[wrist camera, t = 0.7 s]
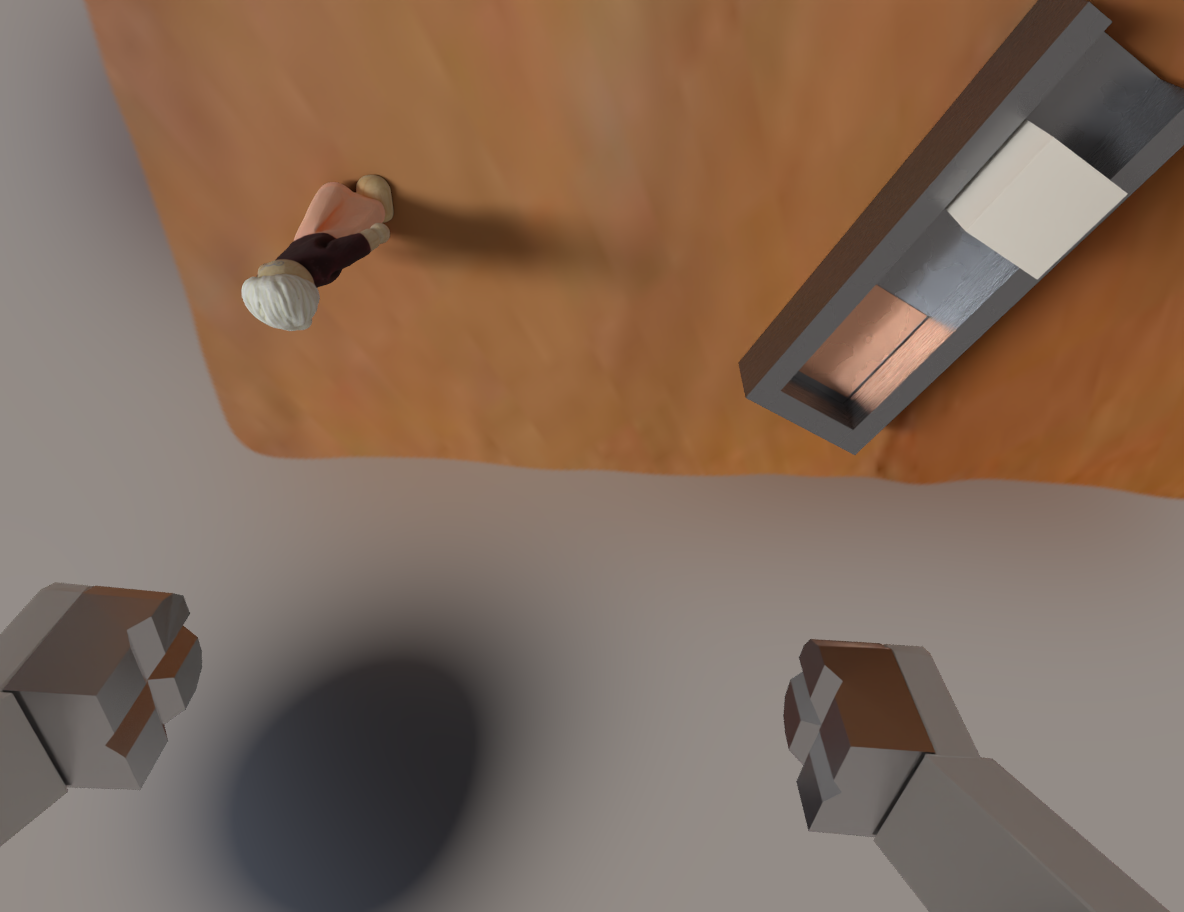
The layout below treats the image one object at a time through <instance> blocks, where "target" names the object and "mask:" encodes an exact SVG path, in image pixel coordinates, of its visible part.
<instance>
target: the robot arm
mask: <svg viewBox="0 0 1184 912" xmlns="http://www.w3.org/2000/svg"><path fill="white" fill-rule="evenodd" d="M189 615H190V612H189V609H188V607H187V604H186V602H185V599H184V596H183V595H178V594H174V593H165V592H155V591H144V590H135V589H124V588H114V587H104V586H88V585H77V584H67V583H53V584H51V585H49V586H47V587H45V588H43V589H41V590H40V591H39V592H38V593H37V594H36V595H35V596H34V597H33V598H32V600H31V601H30V602H29V603H28V604H27V605H26V606H25V608H23V609H22V611H21V612H20V613H19V614H18V615H17V616H16V617H15V618H14V619H13V621H12V622H11V623H10V624H9V625H8V626H7V627H6V628H5V629H4V630H3V632H2V633H1V634H0V846H1V845H3V844H4V843H5V842H6V841H8V840H9V839H10V838H11V837H13V836H14V835H15V834H16V833H18V832H19V831H20V830H21V829H23V828H24V827H25V826H26V825H27V824H29V823H30V822H31V821H32V820H34V819H35V818H36V817H37V816H39V815H40V814H41V813H42V812H43V811H45V810H46V809H47V808H48V807H50V806H51V805H52V804H53V803H55V802H56V801H57V800H58V799H59V798H61V797H62V796H63V795H64V794H66V793H67V792H68V789H67V787H74V788H102V789H132V790H140V789H141V788H142V786H143V784H144V782H145V781H146V779H147V777H148V775H149V774H150V772H151V770H152V768H153V767H154V765H155V763H156V761H157V760H158V758H159V756H160V754H161V752H162V751H163V749H164V747H165V745H166V743H167V742H168V738H167V734H166V729H165V725H164V724H166V723H167V722H168V721H170V720H171V719H173V718H174V717H176V716H177V715H178V714H180V713H181V712H183V711H184V710H186V708H187V706H188V704H189V702H190V700H191V698H192V696H193V694H194V693H195V691H196V688H197V684H198V680H199V676H200V673H201V669H202V650H201V647H200V643H199V640H198V637H197V636H195V635H194V634H193V633H192V632H190V631H189V630H188V629H187V628H186V627H184V626H183V624H184V623H185V621H186V619H187V618H188V616H189ZM799 660H800V663H801V667H802V671H803V672H801V673H800V674H798V675H797V676H795V677H794V678H792V679H791V680H790V682H789V685H788V689H787V691H786V695H785V702H784V714H783V717H784V726H785V735H786V739H787V744H788V748H789V751H791V753H792V754H793V755H794V756H795V757H796V758H797V759H798V760H799V761H800V762H801V763H802V764H803V767H802V770H801V772H800V775H799V777H798V779H797V781H796V782H797V786H798V790H799V794H800V798H801V802H802V806H803V810H804V814H805V819H806V822H807V826H808V831H812V832H823V833H834V834H846V835H856V836H867V837H875V839H874V842H875V843H876V845H877V846H878V847H879V848H880V850H881V851H882V852H883V853H884V855H885V856H886V857H887V859H888V860H889V861H890V862H891V864H892V865H893V866H894V867H895V869H896V870H897V871H898V873H899V874H900V875H901V876H902V878H903V879H904V880H905V882H906V883H907V884H908V885H909V887H910V888H911V889H912V890H913V892H914V893H915V894H916V895H917V897H918V898H919V899H920V901H921V902H922V903H923V904H924V906H925V907H926V908H927V910H928V911H929V912H1170V911H1169V910H1167V909H1166V908H1165V907H1164V906H1163V905H1162V904H1160V903H1159V902H1158V901H1157V900H1156V899H1155V898H1153V897H1152V896H1151V895H1150V894H1149V893H1148V892H1147V891H1145V890H1144V889H1143V888H1142V887H1141V886H1139V885H1138V884H1137V883H1136V882H1135V881H1134V880H1133V879H1131V878H1130V877H1129V876H1128V875H1127V874H1126V873H1124V872H1123V871H1122V870H1121V869H1120V868H1119V867H1118V866H1116V865H1115V864H1114V863H1113V862H1112V861H1111V860H1109V859H1108V858H1107V857H1106V856H1105V855H1104V854H1102V853H1101V852H1100V851H1099V850H1098V849H1097V848H1095V847H1094V846H1093V845H1092V844H1091V843H1090V842H1088V841H1087V840H1086V839H1085V838H1084V837H1083V836H1081V835H1080V834H1079V833H1078V832H1077V831H1076V830H1075V829H1073V828H1072V827H1071V826H1070V825H1069V824H1068V823H1066V822H1065V821H1064V820H1063V819H1062V818H1061V817H1060V816H1058V815H1057V814H1056V813H1055V812H1054V811H1053V810H1051V809H1050V808H1049V807H1048V806H1047V805H1046V804H1044V803H1043V802H1042V801H1041V800H1040V799H1039V798H1037V797H1036V796H1035V795H1034V794H1033V793H1032V792H1030V791H1029V790H1028V789H1027V788H1026V787H1025V786H1024V785H1022V784H1021V783H1020V782H1019V781H1018V780H1017V779H1015V778H1014V777H1013V776H1012V775H1011V774H1010V773H1008V772H1007V771H1006V770H1005V769H1004V768H1003V767H1001V766H1000V765H999V764H998V763H997V762H996V761H995V760H993V759H990V758H981V757H980V755H979V753H978V751H977V749H976V747H975V745H974V743H973V741H972V739H971V736H970V734H969V732H968V730H967V728H966V726H965V724H964V722H963V720H962V718H961V716H960V714H959V712H958V710H957V708H956V706H955V704H954V701H953V699H952V697H951V695H950V693H949V691H948V690H947V687H946V685H945V683H944V681H943V679H942V677H941V675H940V673H939V671H938V669H937V667H936V664H935V662H934V660H933V658H932V656H931V655H930V653H929V652H928V651H927V650H926V649H925V648H924V647H919V646H905V645H890V644H884V645H882V644H880V643H864V642H849V641H832V640H815V639H810V640H809V641H808V642H807V643H806V644H805V645H804V646H803V649H802V651H801V654H800V656H799Z"/></svg>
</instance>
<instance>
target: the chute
mask: <svg viewBox="0 0 1184 912" xmlns="http://www.w3.org/2000/svg"><path fill="white" fill-rule="evenodd" d="M1111 23H1112V21H1111V20H1110V19H1109V18H1107V17H1106V16H1105V15H1104V14H1103V13H1102V12H1100V11H1099V10H1098V9H1097V8H1096V7H1095V6H1093V5H1092V4H1091V3H1090V2H1088V1H1085V0H1038V1H1037V3H1036V4H1035V5H1034V6H1033V7H1032V9H1031V10H1030V11H1029V12H1028V13H1027V15H1026V16H1025V17H1024V18H1023V19H1022V21H1021V22H1020V23H1019V24H1018V26H1017V27H1016V28H1015V29H1014V30H1013V32H1012V33H1011V34H1010V35H1009V36H1008V38H1007V39H1006V40H1005V41H1004V42H1003V44H1002V45H1001V46H1000V47H999V49H998V50H997V51H996V52H995V53H994V55H993V56H992V57H991V58H990V59H989V61H988V62H987V63H986V64H985V65H984V67H983V68H982V69H981V70H980V71H979V73H978V74H977V75H976V76H975V78H974V79H973V80H972V81H971V82H970V84H969V85H968V86H967V87H966V88H965V90H964V91H963V92H962V93H961V94H960V96H959V97H958V98H957V99H956V101H955V102H954V103H953V104H952V105H951V107H950V108H949V109H948V110H947V111H946V113H945V114H944V115H943V116H942V117H941V119H940V120H939V121H938V122H937V124H936V125H935V126H934V127H933V128H932V130H931V131H930V132H929V133H928V134H927V136H926V137H925V138H924V139H923V140H922V142H921V143H920V144H919V145H918V146H917V148H916V149H915V150H914V151H913V153H912V154H911V155H910V156H909V157H908V159H907V160H906V161H905V162H904V163H903V165H902V166H901V167H900V168H899V169H898V171H897V172H896V173H895V174H894V176H893V177H892V178H891V179H890V180H889V182H888V183H887V184H886V185H885V186H884V188H883V189H882V190H881V191H880V192H879V194H878V195H877V196H876V197H875V199H874V200H873V201H872V202H871V203H870V205H869V206H868V207H867V208H866V209H865V211H864V212H863V213H862V214H861V215H860V217H859V218H858V219H857V220H856V221H855V223H854V224H853V225H852V226H851V228H850V229H849V230H848V231H847V232H846V234H845V235H844V236H843V237H842V238H841V240H840V241H839V242H838V243H837V244H836V246H835V247H834V248H833V249H832V251H831V252H830V253H829V254H828V255H827V257H826V258H825V259H824V260H823V261H822V263H821V264H820V265H819V266H818V267H817V269H816V270H815V271H814V272H813V273H812V275H811V276H810V277H809V278H808V280H807V281H806V282H805V283H804V284H803V286H802V287H801V288H800V289H799V290H798V292H797V293H796V294H795V295H794V296H793V298H792V299H791V300H790V301H789V303H788V304H787V305H786V306H785V307H784V309H783V310H782V311H781V312H780V313H779V315H778V316H777V317H776V318H775V319H774V321H773V322H772V323H771V324H770V326H769V327H768V328H767V329H766V330H765V332H764V333H763V334H762V335H761V336H760V338H759V339H758V340H757V341H756V342H755V344H754V345H753V346H752V347H751V348H750V350H749V351H748V352H747V353H746V355H745V356H744V357H743V358H742V359H741V361H740V362H739V368H740V373H741V378H742V383H743V387H744V392H745V397H746V398H747V399H749V400H751V401H753V402H755V403H757V404H759V405H761V406H762V407H764V408H766V409H768V410H770V411H772V412H774V413H776V414H778V415H780V416H781V417H783V418H785V419H787V420H789V421H791V422H793V423H795V424H797V425H799V426H801V427H802V428H804V429H806V430H808V431H810V432H812V433H814V434H816V435H818V436H820V437H821V438H823V439H825V440H827V441H829V442H831V443H833V444H835V445H837V446H839V447H841V448H842V449H844V450H846V451H848V452H850V453H852V454H854V455H856V454H857V453H858V452H859V451H860V450H861V449H862V448H863V447H864V446H865V445H866V444H867V443H868V442H869V441H870V440H872V439H873V438H874V437H875V436H876V435H877V434H878V433H879V432H880V431H881V430H882V429H883V428H884V427H885V426H886V425H887V424H888V423H890V422H891V421H892V420H893V419H894V418H895V417H896V416H897V415H898V414H899V413H900V412H901V411H902V410H903V409H904V408H905V407H906V406H908V405H909V404H910V403H911V402H912V401H913V400H914V399H915V398H916V397H917V396H918V395H919V394H920V393H921V392H922V391H923V390H925V389H926V388H927V387H928V386H929V385H930V384H931V383H932V382H933V381H934V380H935V379H936V378H937V377H938V376H939V375H940V374H941V373H943V372H944V371H945V370H946V369H947V368H948V367H949V366H950V365H951V364H952V363H953V362H954V361H955V360H956V359H957V358H958V357H959V356H961V355H962V354H963V353H964V352H965V351H966V350H967V349H968V348H969V347H970V346H971V345H972V344H973V343H974V342H975V341H976V340H978V339H979V338H980V337H981V336H982V335H983V334H984V333H985V332H986V331H987V330H988V329H989V328H990V327H991V326H992V325H993V324H994V323H996V322H997V321H998V320H999V319H1000V318H1001V317H1002V316H1003V315H1004V314H1005V313H1006V312H1007V311H1008V310H1009V309H1010V308H1011V307H1013V306H1014V305H1015V304H1016V303H1017V302H1018V301H1019V300H1020V299H1021V298H1022V297H1023V296H1024V295H1025V294H1026V293H1027V292H1028V291H1029V290H1031V289H1032V288H1033V287H1034V286H1035V285H1036V284H1037V283H1038V282H1039V281H1040V280H1041V279H1042V278H1043V277H1044V276H1045V275H1046V274H1047V273H1049V272H1050V271H1051V270H1052V269H1053V268H1054V267H1055V266H1056V265H1057V264H1058V263H1059V262H1060V261H1061V260H1062V259H1063V258H1064V257H1066V256H1067V255H1068V254H1069V253H1070V252H1071V251H1072V250H1073V249H1074V248H1075V247H1076V246H1077V245H1078V244H1079V243H1080V242H1081V241H1082V240H1084V239H1085V238H1086V237H1087V236H1088V235H1089V234H1090V233H1091V232H1092V231H1093V230H1094V229H1095V228H1096V227H1097V226H1098V225H1099V224H1100V223H1102V222H1103V221H1104V220H1105V219H1106V218H1107V217H1108V216H1109V215H1110V214H1111V213H1112V212H1113V211H1114V210H1115V209H1116V208H1117V207H1119V206H1120V205H1121V204H1122V203H1123V202H1124V201H1125V200H1126V199H1127V198H1128V197H1129V196H1130V195H1131V194H1132V193H1133V192H1134V191H1135V190H1137V189H1138V188H1139V187H1140V186H1141V185H1142V184H1143V183H1144V182H1145V181H1146V180H1147V179H1148V178H1149V177H1150V176H1151V175H1152V174H1154V173H1155V172H1156V171H1157V170H1158V169H1159V168H1160V167H1161V166H1162V165H1163V164H1164V163H1165V162H1166V161H1167V160H1168V159H1169V158H1170V157H1172V156H1173V155H1174V154H1175V153H1176V152H1177V151H1178V150H1179V149H1180V148H1181V147H1182V146H1183V145H1184V89H1183V88H1180V87H1178V86H1175V85H1173V84H1170V83H1168V82H1166V81H1163V80H1161V79H1159V78H1158V77H1157V76H1156V75H1155V74H1154V73H1152V72H1151V71H1150V70H1149V69H1148V68H1146V67H1145V66H1144V65H1143V64H1142V63H1141V62H1139V61H1138V60H1137V59H1136V58H1135V57H1133V56H1132V55H1131V54H1130V53H1129V52H1128V51H1126V50H1125V49H1124V48H1123V47H1122V46H1120V45H1119V44H1118V43H1117V42H1116V41H1115V40H1113V39H1112V38H1111V37H1110V36H1109V35H1107V34H1106V33H1105V32H1104V31H1105V30H1106V28H1107V27H1108V26H1109V25H1110V24H1111ZM1025 119H1027V120H1028V121H1030V122H1031V123H1033V124H1034V125H1036V126H1037V127H1039V128H1040V129H1042V130H1043V131H1045V132H1047V133H1048V134H1050V135H1051V136H1053V137H1054V138H1055V139H1057V140H1058V141H1059V142H1061V143H1062V144H1063V145H1065V146H1066V147H1067V148H1068V149H1070V150H1071V151H1072V152H1074V153H1075V154H1076V155H1078V156H1079V157H1080V158H1082V159H1083V160H1084V161H1086V162H1087V163H1088V164H1089V165H1091V166H1092V167H1093V168H1095V169H1096V170H1097V171H1099V172H1100V173H1101V174H1103V175H1104V176H1105V177H1107V178H1108V179H1109V180H1110V181H1112V182H1113V183H1114V184H1116V185H1117V186H1118V187H1120V188H1121V189H1122V190H1124V191H1125V192H1126V193H1127V195H1126V196H1125V197H1124V198H1123V199H1122V200H1121V201H1120V202H1119V203H1118V204H1117V205H1116V206H1115V207H1114V208H1112V209H1111V210H1110V211H1109V212H1108V213H1107V214H1106V215H1105V216H1104V217H1103V218H1102V219H1101V220H1100V221H1099V222H1098V223H1097V224H1096V225H1095V226H1093V227H1092V228H1091V229H1090V230H1089V231H1088V232H1087V233H1086V234H1085V235H1084V236H1083V237H1082V238H1081V239H1080V240H1079V241H1078V242H1077V243H1075V244H1074V245H1073V246H1072V247H1071V248H1070V249H1069V250H1068V251H1067V252H1066V253H1065V254H1064V255H1063V256H1062V257H1061V258H1060V259H1059V260H1058V261H1056V262H1055V263H1054V264H1053V265H1052V266H1051V267H1050V268H1049V269H1048V270H1047V271H1046V272H1045V273H1044V274H1043V275H1042V276H1041V277H1040V278H1039V279H1035V278H1034V277H1032V276H1031V275H1030V274H1028V273H1027V272H1025V271H1024V270H1022V269H1021V268H1019V267H1018V266H1016V265H1015V264H1013V263H1012V262H1010V261H1009V260H1007V259H1006V258H1004V257H1003V256H1001V255H1000V254H998V253H997V252H996V251H994V250H993V249H991V248H990V247H988V246H987V245H985V244H984V243H982V242H981V241H979V240H978V239H976V238H975V237H973V236H972V235H970V234H969V233H967V232H966V231H965V230H964V229H963V228H962V227H961V226H960V225H959V223H958V222H957V221H956V220H955V219H954V218H953V217H952V216H951V215H950V213H949V212H948V211H947V210H946V209H945V207H946V206H947V205H948V204H949V203H950V202H951V201H952V200H953V199H954V197H955V196H956V195H957V194H958V193H959V192H960V191H961V190H962V189H963V187H964V186H965V185H966V184H967V183H968V182H969V181H970V180H971V179H972V177H973V176H974V175H975V174H976V173H977V172H978V171H979V170H980V169H981V167H982V166H983V165H984V164H985V163H986V162H987V161H988V160H989V159H990V157H991V156H992V155H993V154H994V153H995V152H996V151H997V150H998V149H999V147H1000V146H1001V145H1002V144H1003V143H1004V142H1005V141H1006V140H1007V139H1008V137H1009V136H1010V135H1011V134H1012V133H1013V132H1014V131H1015V130H1016V129H1017V127H1018V126H1019V125H1020V124H1021V123H1022V122H1023V121H1024V120H1025Z"/></svg>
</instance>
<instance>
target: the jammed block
mask: <svg viewBox="0 0 1184 912" xmlns="http://www.w3.org/2000/svg"><path fill="white" fill-rule="evenodd" d="M1126 195H1127V193H1126V192H1125V191H1124V190H1122V189H1121V188H1120V187H1118V186H1117V185H1116V184H1114V183H1113V182H1112V181H1110V180H1109V179H1108V178H1107V177H1105V176H1104V175H1103V174H1101V173H1100V172H1099V171H1097V170H1096V169H1095V168H1093V167H1092V166H1091V165H1089V164H1088V163H1087V162H1086V161H1084V160H1083V159H1082V158H1080V157H1079V156H1078V155H1076V154H1075V153H1074V152H1072V151H1071V150H1070V149H1068V148H1067V147H1066V146H1065V145H1063V144H1062V143H1061V142H1059V141H1058V140H1057V139H1055V138H1054V137H1053V136H1051V135H1050V134H1048V133H1047V132H1045V131H1043V130H1042V129H1040V128H1039V127H1037V126H1036V125H1034V124H1033V123H1031V122H1030V121H1028V120H1027V119H1025V120H1024V121H1023V122H1022V123H1021V124H1020V125H1019V126H1018V127H1017V129H1016V130H1015V131H1014V132H1013V133H1012V134H1011V135H1010V136H1009V137H1008V139H1007V140H1006V141H1005V142H1004V143H1003V144H1002V145H1001V146H1000V147H999V149H998V150H997V151H996V152H995V153H994V154H993V155H992V156H991V157H990V159H989V160H988V161H987V162H986V163H985V164H984V165H983V166H982V167H981V169H980V170H979V171H978V172H977V173H976V174H975V175H974V176H973V177H972V179H971V180H970V181H969V182H968V183H967V184H966V185H965V186H964V187H963V189H962V190H961V191H960V192H959V193H958V194H957V195H956V196H955V197H954V199H953V200H952V201H951V202H950V203H949V204H948V205H947V206H946V207H945V209H946V210H947V211H948V212H949V213H950V215H951V216H952V217H953V218H954V219H955V220H956V221H957V222H958V223H959V225H960V226H961V227H962V228H963V229H964V230H965V231H966V232H967V233H969V234H970V235H972V236H973V237H975V238H976V239H978V240H979V241H981V242H982V243H984V244H985V245H987V246H988V247H990V248H991V249H993V250H994V251H996V252H997V253H998V254H1000V255H1001V256H1003V257H1004V258H1006V259H1007V260H1009V261H1010V262H1012V263H1013V264H1015V265H1016V266H1018V267H1019V268H1021V269H1022V270H1024V271H1025V272H1027V273H1028V274H1030V275H1031V276H1032V277H1034V278H1035V279H1039V278H1040V277H1041V276H1042V275H1043V274H1044V273H1045V272H1046V271H1047V270H1048V269H1049V268H1050V267H1051V266H1052V265H1053V264H1054V263H1055V262H1056V261H1058V260H1059V259H1060V258H1061V257H1062V256H1063V255H1064V254H1065V253H1066V252H1067V251H1068V250H1069V249H1070V248H1071V247H1072V246H1073V245H1074V244H1075V243H1077V242H1078V241H1079V240H1080V239H1081V238H1082V237H1083V236H1084V235H1085V234H1086V233H1087V232H1088V231H1089V230H1090V229H1091V228H1092V227H1093V226H1095V225H1096V224H1097V223H1098V222H1099V221H1100V220H1101V219H1102V218H1103V217H1104V216H1105V215H1106V214H1107V213H1108V212H1109V211H1110V210H1111V209H1112V208H1114V207H1115V206H1116V205H1117V204H1118V203H1119V202H1120V201H1121V200H1122V199H1123V198H1124V197H1125V196H1126Z"/></svg>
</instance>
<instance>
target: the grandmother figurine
mask: <svg viewBox="0 0 1184 912" xmlns="http://www.w3.org/2000/svg"><path fill="white" fill-rule="evenodd" d="M393 214H394V211H393V203H392V195H391V189H390V187H389V185H388V183H387V182H386V181H385V180H384V179H383V178H382V177H380V176H377V175H366V176H363V177H362V178H360V179H359V181H358V182H357V185H356V193H354V192H352V191H351V190H350V189H349V188H348V187H346V186H345V185H343V184H340V183H337V182H329V183H326V184H324V185H323V186H322V187H321V188H320V189H319V191H318V192H317V194H316V195H315V196H314V198H313V200H312V202H311V204H310V206H309V208H308V210H307V212H306V215H305V217H304V219H303V221H302V223H301V225H300V227H299V229H298V231H297V233H296V235H295V239H294V242H292V243H291V244H290V246H289V247H288V248H287V249H286V250H285V251H284V252H283V253H282V254H281V255H280V256H279V257H278V258H277V259H276V260H275V261H272V262H270V263H265V264H263V265H261V266H260V267H259V269H258V275H257V277H251V278H249V279H247V280H246V281H245V282H244V284H243V286H242V297H243V301H244V303H245V305H246V307H247V308H248V309H249V311H250V312H251V313H252V314H253V315H254V316H255V317H256V318H257V319H259V320H260V321H262V322H263V323H265V324H267V325H269V326H272V327H274V328H279V329H283V330H288V331H295V330H304V329H307V328H309V327H310V325H311V324H312V319H311V318H312V317H313V316H314V314H315V312H316V311H317V305H318V303H319V299H320V297H319V292H318V289H317V287H320V286H323V285H327V284H329V283H331V282H333V281H334V280H335V279H336V278H337V277H338V276H339V275H340V273H341V271H342V269H343V268H345V267H347V266H350V265H351V264H353V263H354V262H356V261H357V260H359V259H361V258H363V257H365V256H366V255H368V254H369V253H370V252H371V251H372V250H374V249H375V248H377V247H378V246H379V244H382V243H385V242H386V241H387V240H388V239H389V237H390V230H389V228H388V227H387V226H386V225H385V224H383V223H385V222H388V221H390V220H391V219H392V217H393Z"/></svg>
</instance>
